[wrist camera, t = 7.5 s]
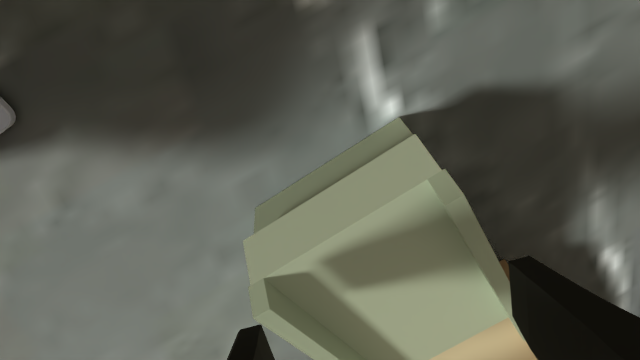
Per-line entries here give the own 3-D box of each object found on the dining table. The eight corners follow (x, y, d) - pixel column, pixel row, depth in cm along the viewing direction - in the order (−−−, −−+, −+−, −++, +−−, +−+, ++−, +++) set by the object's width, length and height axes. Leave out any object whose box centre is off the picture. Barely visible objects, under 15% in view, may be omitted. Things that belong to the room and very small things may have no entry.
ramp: (245, 199, 20) (234, 299, 14) (394, 104, 18) (449, 169, 13) (374, 353, 24) (407, 477, 18) (501, 284, 23) (578, 393, 17)
